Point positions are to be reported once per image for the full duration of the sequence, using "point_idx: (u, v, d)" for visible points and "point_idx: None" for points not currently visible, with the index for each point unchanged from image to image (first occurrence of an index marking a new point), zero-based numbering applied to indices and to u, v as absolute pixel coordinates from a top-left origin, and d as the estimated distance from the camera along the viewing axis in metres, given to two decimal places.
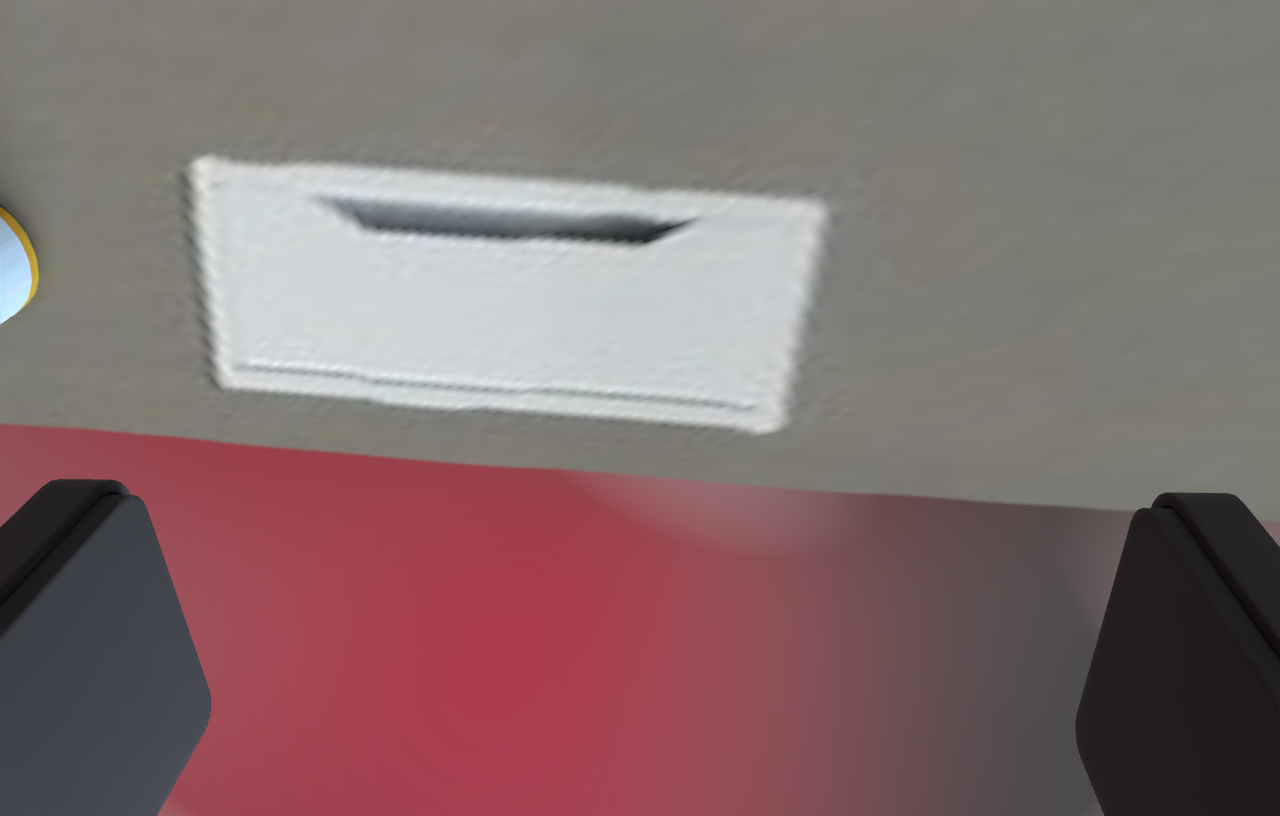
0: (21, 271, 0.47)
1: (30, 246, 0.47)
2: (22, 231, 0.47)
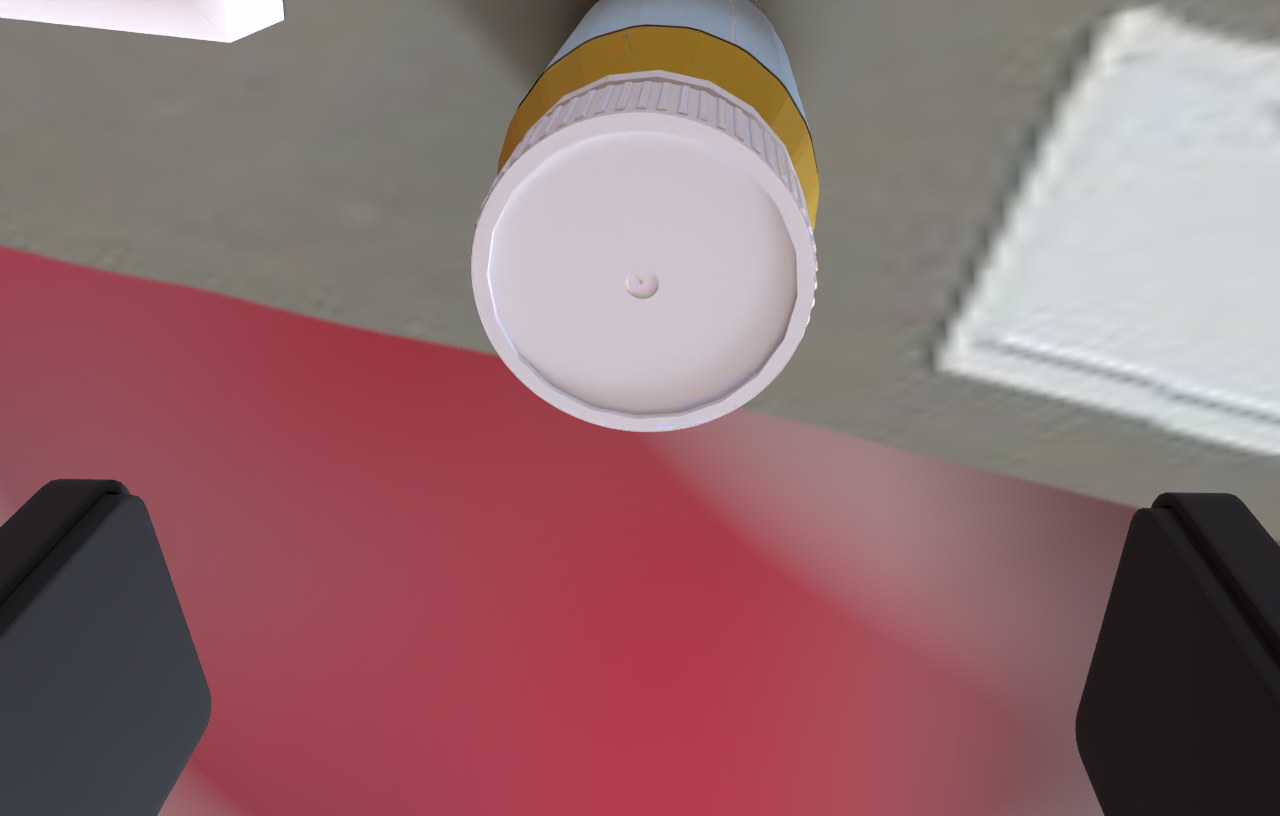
0: None
1: None
2: None
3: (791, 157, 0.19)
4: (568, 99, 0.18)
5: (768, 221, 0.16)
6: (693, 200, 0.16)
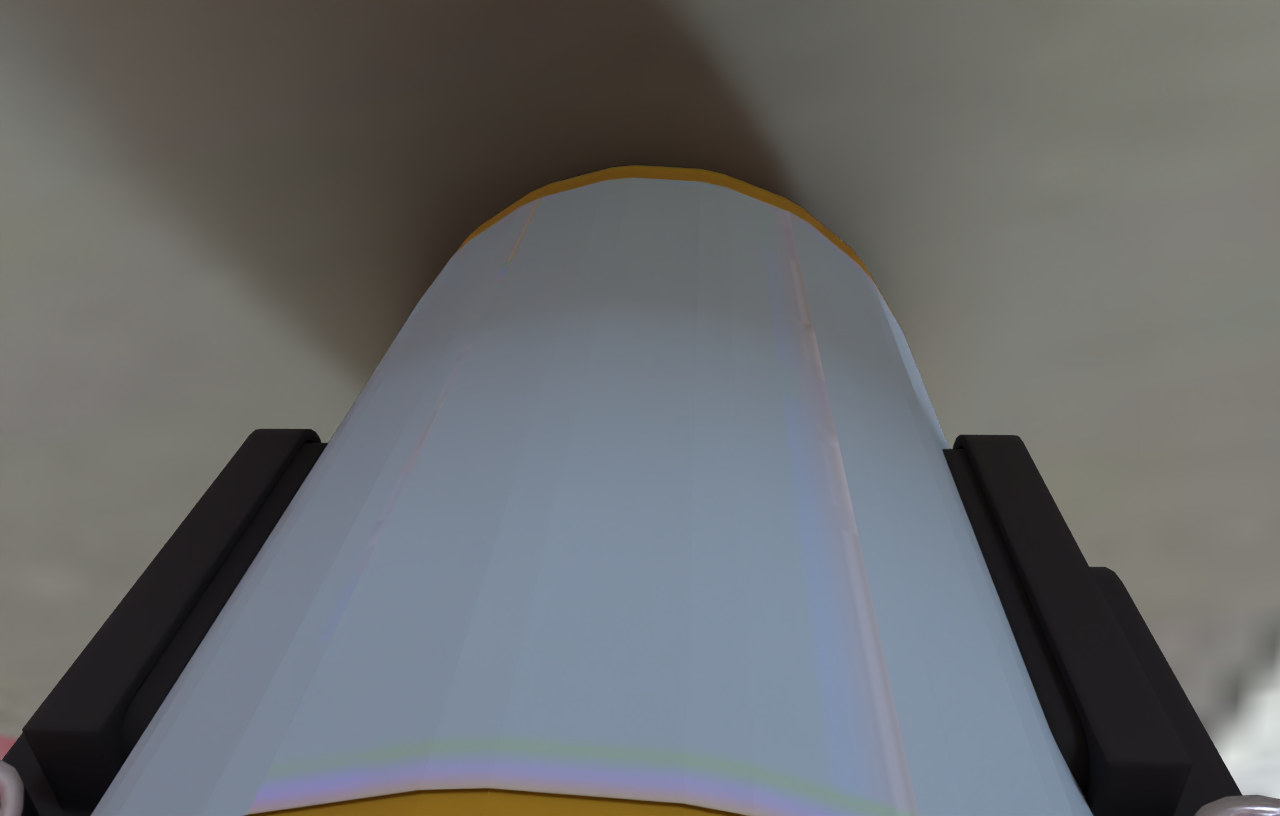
0: None
1: None
2: None
3: None
4: None
5: None
6: None
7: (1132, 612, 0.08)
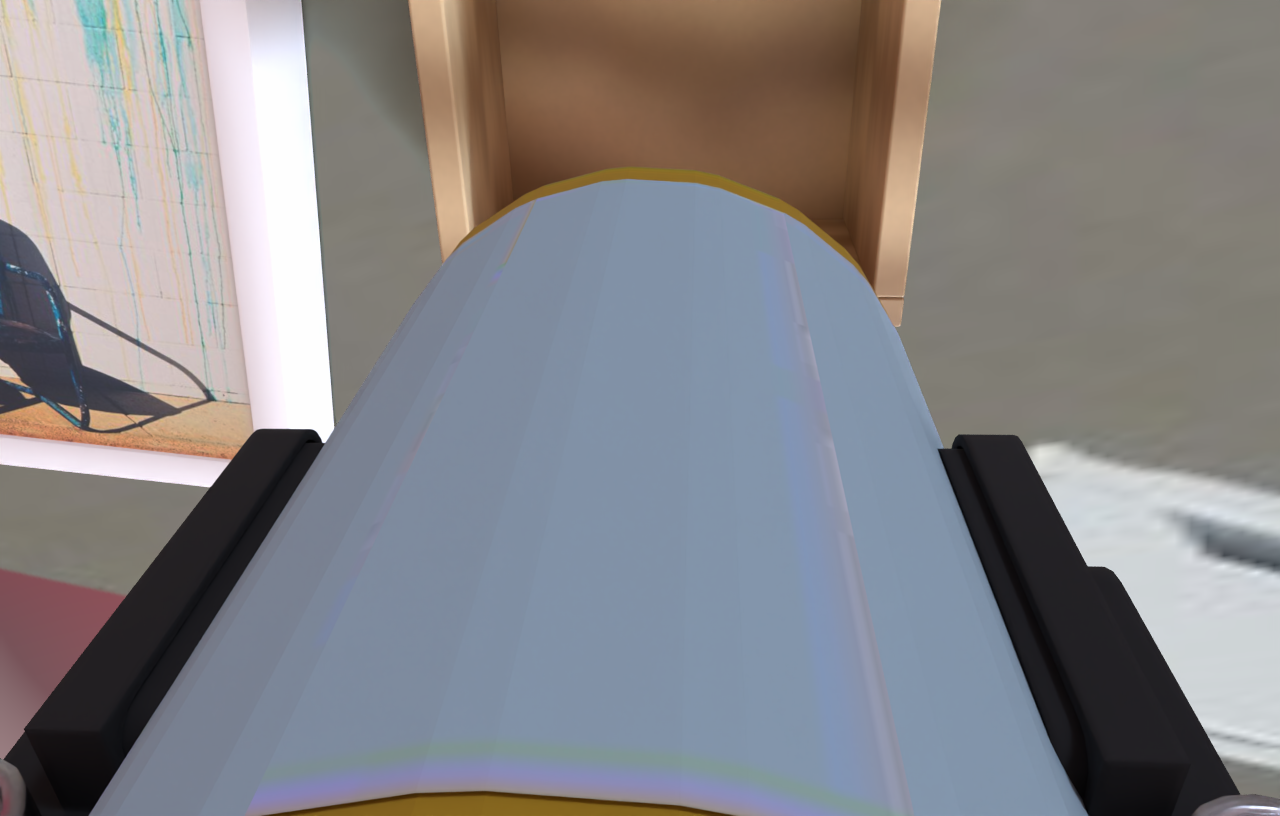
0: None
1: None
2: None
3: None
4: None
5: None
6: None
7: (1130, 611, 0.08)
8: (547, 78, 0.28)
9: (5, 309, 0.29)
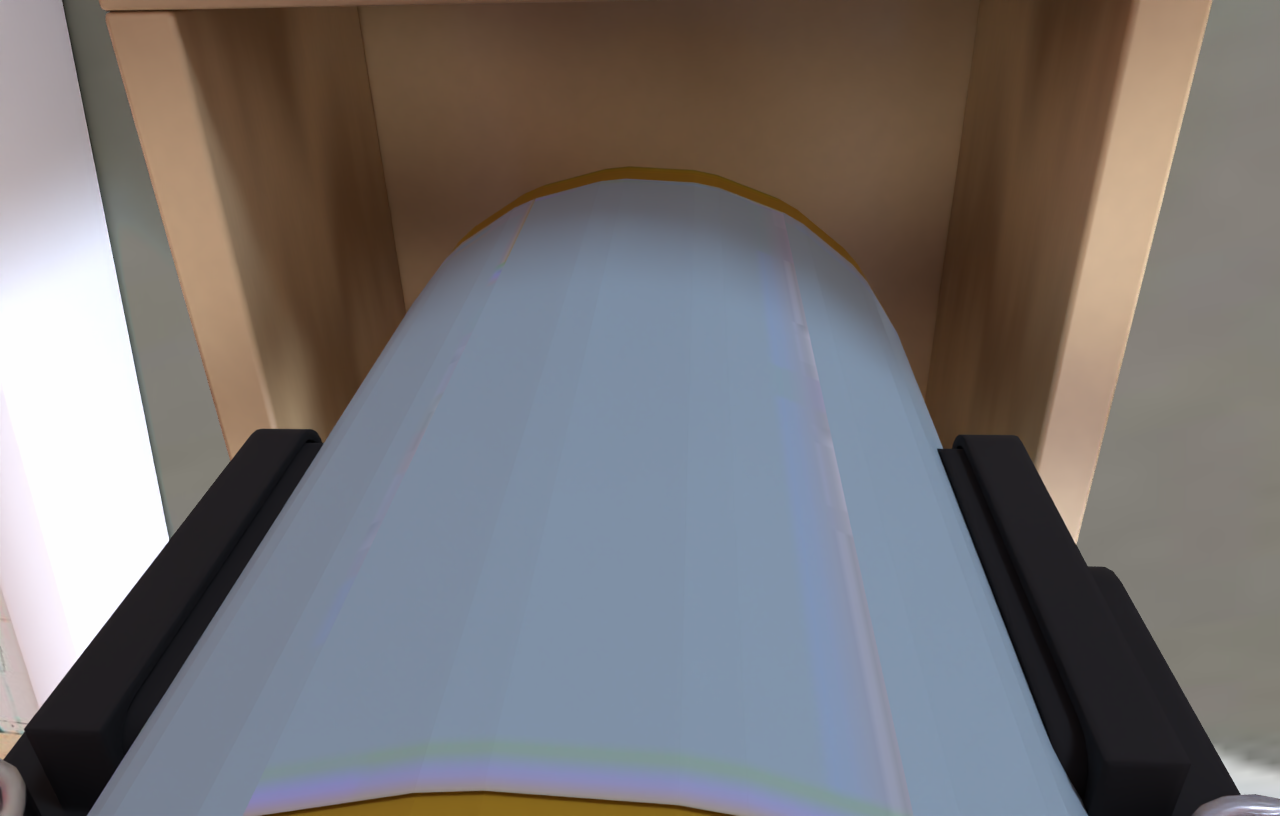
0: None
1: None
2: None
3: None
4: None
5: None
6: None
7: (1131, 612, 0.08)
8: None
9: None
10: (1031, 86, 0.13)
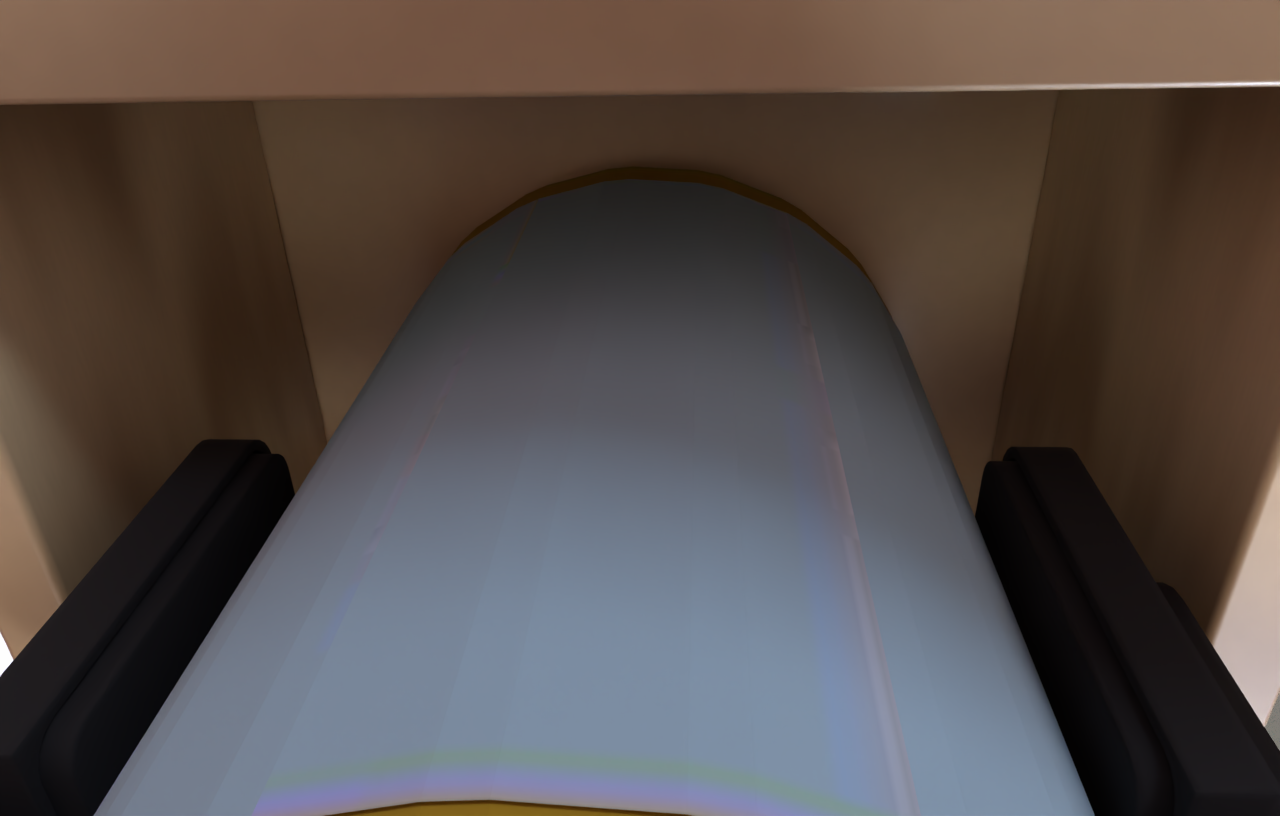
0: None
1: None
2: None
3: None
4: None
5: None
6: None
7: (1195, 630, 0.08)
8: None
9: None
10: (1162, 188, 0.09)
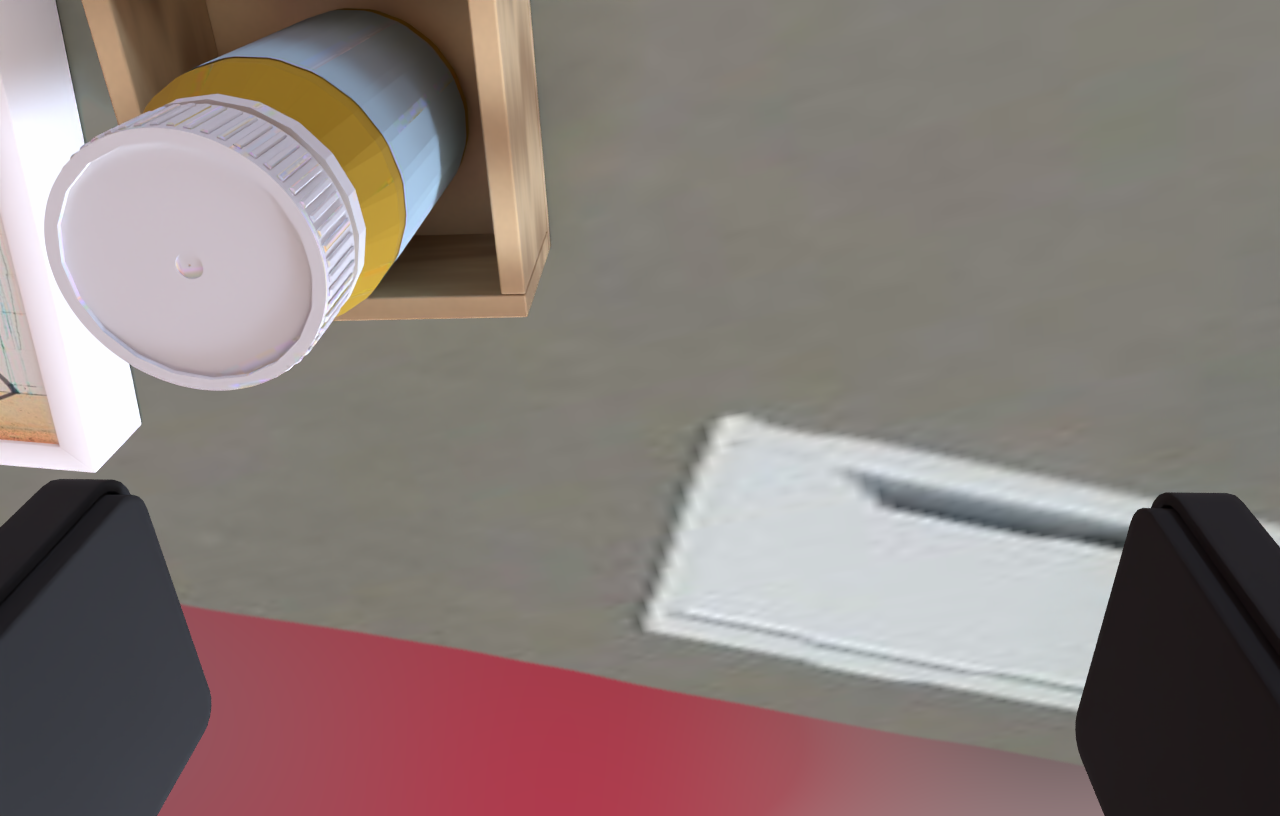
0: (460, 152, 0.33)
1: (467, 121, 0.33)
2: (464, 97, 0.33)
3: (346, 162, 0.23)
4: None
5: (275, 212, 0.21)
6: (212, 197, 0.20)
7: None
8: None
9: None
10: None
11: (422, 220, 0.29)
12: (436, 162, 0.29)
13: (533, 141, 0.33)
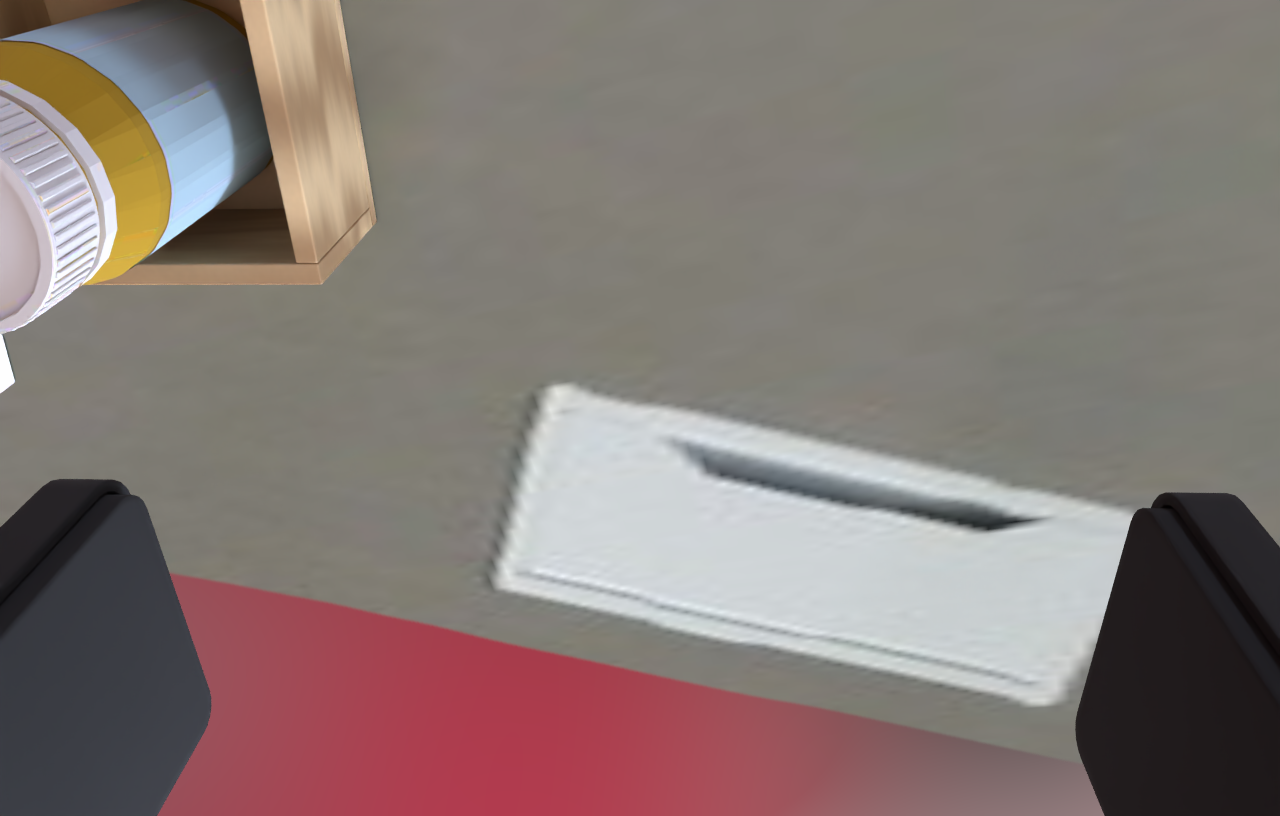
0: None
1: None
2: None
3: (94, 137, 0.26)
4: None
5: None
6: None
7: None
8: None
9: None
10: None
11: (211, 192, 0.32)
12: (226, 140, 0.32)
13: (341, 122, 0.36)
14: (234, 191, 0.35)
